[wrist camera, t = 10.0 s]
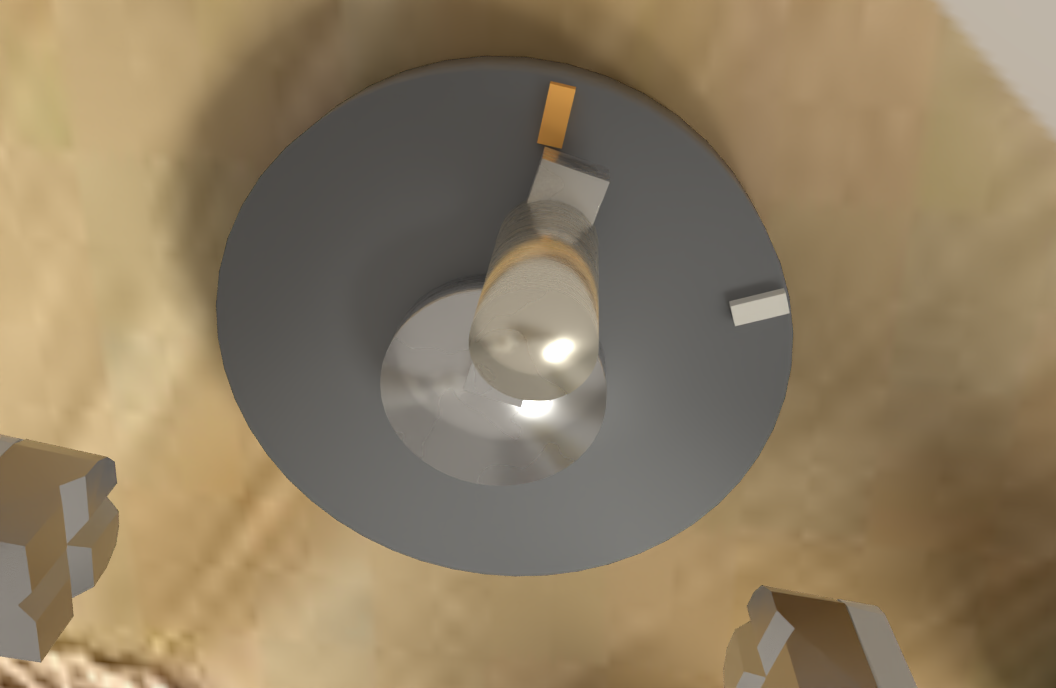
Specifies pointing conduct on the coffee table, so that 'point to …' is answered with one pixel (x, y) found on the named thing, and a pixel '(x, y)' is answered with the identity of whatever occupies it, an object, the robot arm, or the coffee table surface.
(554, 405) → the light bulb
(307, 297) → the dial plate
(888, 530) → the coffee table surface
